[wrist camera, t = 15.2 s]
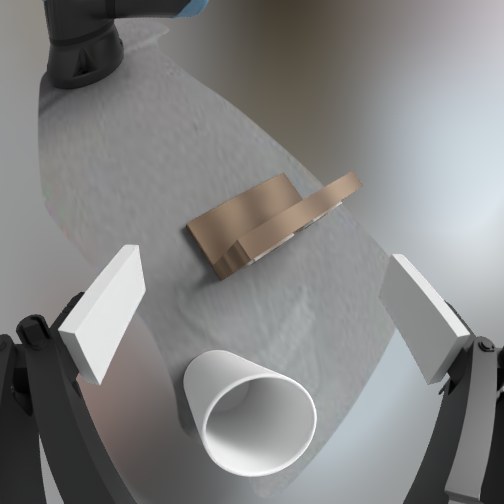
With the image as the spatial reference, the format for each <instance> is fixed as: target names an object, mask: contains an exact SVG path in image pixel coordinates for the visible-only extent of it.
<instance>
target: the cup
mask: <svg viewBox="0 0 504 504" xmlns="http://www.w3.org/2000/svg"><path fill="white" fill-rule="evenodd" d="M183 385H184V390H185V393H186V397H187V400H188V403H189V406H190V409H191V412H192V415H193V418H194V421H195V423H196V426H197V429H198V432H199V435H200V437H201V440H202V442H203V445H204V447H205V450H206V451H207V453H208V455H209V456H210V457H211V459H212V460H213V461H214V462H215V463H216V464H217V465H218V466H220V467H221V468H223V469H224V470H226V471H228V472H231V473H233V474H236V475H241V476H248V477H256V476H264V475H268V474H272V473H275V472H277V471H280V470H282V469H284V468H286V467H287V466H289V465H290V464H292V463H293V462H294V461H295V460H297V459H298V458H299V457H300V456H301V455H302V453H303V452H304V451H305V450H306V448H307V447H308V445H309V443H310V442H311V440H312V437H313V435H314V431H315V427H316V409H315V406H314V403H313V400H312V398H311V396H310V395H309V394H308V392H307V391H306V390H305V389H304V388H303V387H302V386H301V385H300V384H298V383H297V382H295V381H294V380H292V379H290V378H288V377H286V376H283V375H281V374H278V373H276V372H274V371H271V370H269V369H266V368H264V367H262V366H259V365H257V364H255V363H253V362H250V361H248V360H246V359H244V358H241V357H239V356H237V355H235V354H233V353H230V352H227V351H223V350H212V351H208V352H205V353H202V354H200V355H199V356H197V357H196V358H195V359H194V360H192V362H191V363H190V364H189V365H188V367H187V369H186V371H185V374H184V380H183Z"/></svg>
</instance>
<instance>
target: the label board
mask: <svg viewBox="0 0 504 504" xmlns="http://www.w3.org/2000/svg"><path fill="white" fill-rule="evenodd" d="M362 186H363V185H362V183H361V182H360V180H359V179H358V178H357V176H356V175H355V173H354V172H353V171H352V172H350V173H348V174H347V175H345V176H343V177H341V178H339V179H338V180H336V181H335V182H333V183H331V184H329V185H328V186H326V187H324V188H322V189H321V190H319V191H317V192H316V193H314V194H312V195H311V196H309V197H307V198H305V199H304V200H303V199H302V198H301V196H300V195H299V193H298V192H297V190H296V189H295V188H294V186H293V185H292V183H291V182H290V181H289V179H288V178H287V176H286V175H285V174H284V173H282V174H280V175H278V176H276V177H274V178H272V179H270V180H268V181H266V182H264V183H262V184H260V185H258V186H256V187H254V188H252V189H250V190H248V191H246V192H244V193H242V194H240V195H238V196H236V197H235V198H233V199H231V200H229V201H227V202H225V203H223V204H221V205H220V206H218V207H216V208H214V209H212V210H210V211H209V212H207V213H205V214H203V215H201V216H199V217H198V218H196V219H194V220H192V221H191V222H189V223H187V225H186V227H187V228H188V230H189V231H190V233H191V235H192V236H193V238H194V239H195V241H196V243H197V244H198V246H199V247H200V249H201V250H202V252H203V253H204V255H205V257H206V258H207V260H208V261H209V263H210V264H211V266H212V267H213V269H214V270H215V272H216V273H217V275H218V276H219V278H220V279H221V281H222V280H223V279H225V278H226V277H228V276H229V275H231V274H232V273H234V272H235V271H237V270H238V269H240V268H241V267H243V268H244V269H245V268H246V267H248V266H249V265H251V264H253V263H255V262H256V261H258V260H259V259H261V258H262V257H264V256H265V255H267V254H268V253H270V252H271V251H273V250H274V249H276V248H277V247H279V246H280V245H281V244H282V243H284V242H285V241H287V240H288V239H290V238H291V237H293V236H294V234H293V233H294V232H297V233H298V232H300V231H301V230H303V229H304V228H307V227H308V226H310V225H311V224H313V223H314V222H316V221H317V220H319V219H320V218H322V217H323V216H325V215H326V214H327V213H328V212H330V211H331V210H332V209H334V208H335V207H337V206H338V205H340V204H341V203H342V202H341V200H343V199H344V198H346V197H347V196H349V195H350V194H351V193H353V192H354V191H356V190H357V189H359V188H360V187H362Z"/></svg>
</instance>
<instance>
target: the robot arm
mask: <svg viewBox="0 0 504 504" xmlns="http://www.w3.org/2000/svg"><path fill="white" fill-rule="evenodd" d="M43 1H44V9H45V16H46V22H47V28H48V34H49V39H50V51H49V60H48V64H47V74H48V78H49V81H50V83H51V84H52V85H54V86H55V87H58V88H64V89H70V88H77V87H82V86H86V85H89V84H91V83H94V82H96V81H98V80H100V79H102V78H104V77H106V76H107V75H109V74H110V73H112V72H113V71H114V70H115V69H116V68H117V67H118V66H119V65H120V63H121V62H122V60H123V56H124V46H123V42H122V40H121V39H120V38H119V34H118V31H117V29H116V27H115V25H114V19H116V18H135V17H136V18H137V17H160V18H163V17H164V18H176V17H194V16H196V15H198V14H199V13H200V12H201V11H202V10H203V9H204V8H205V6H206V4H207V3H208V1H209V0H43ZM145 291H146V289H145V284H144V278H143V273H142V266H141V260H140V254H139V247H138V245H124V246H123V248H122V249H121V250H120V251H119V252H118V253H117V255H116V256H115V257H114V258H113V259H112V260H111V262H110V263H109V264H108V265H107V266H106V268H105V269H104V270H103V271H102V272H101V274H100V275H99V276H98V277H97V279H96V280H95V281H94V282H93V284H92V285H91V286H90V287H89V289H88V290H87V291H86V292H80V293H79V294H78V295H76V296H75V297H73V298H72V299H71V301H70V302H69V303H68V304H67V307H65V308H64V310H63V311H62V313H60V315H59V316H58V317H57V319H56V320H55V321H54V323H53V324H52V326H51V327H50V328H48V325H47V324H46V321H45V319H44V317H43V316H41V315H36V314H35V315H30V316H28V317H26V318H24V319H23V320H22V321H20V323H19V324H18V325H17V328H16V332H17V334H18V336H19V338H20V340H21V342H22V344H14V342H13V340H12V339H11V337H10V336H9V335H7V334H2V335H0V504H47V503H46V497H45V492H44V485H43V479H42V471H41V461H40V448H39V434H40V438H41V441H42V445H43V448H44V452H45V455H46V458H47V461H48V464H49V467H50V470H51V472H52V475H53V477H54V480H55V483H56V485H57V487H58V490H59V493H60V495H61V497H62V499H63V502H64V504H137V503H136V502H135V500H134V499H133V497H132V496H131V494H130V492H129V491H128V489H127V488H126V486H125V484H124V483H123V481H122V479H121V477H120V476H119V474H118V472H117V470H116V469H115V467H114V465H113V463H112V461H111V459H110V457H109V455H108V453H107V451H106V449H105V447H104V445H103V443H102V441H101V439H100V437H99V435H98V433H97V430H96V428H95V426H94V423H93V421H92V419H91V416H90V414H89V411H88V409H87V406H86V404H85V401H84V398H83V395H82V393H81V390H80V387H79V384H78V382H77V381H76V377H77V375H78V373H80V375H81V376H82V378H83V380H84V381H85V382H89V383H93V384H97V385H100V384H101V382H102V379H103V377H104V375H105V373H106V370H107V368H108V366H109V364H110V362H111V360H112V357H113V355H114V353H115V351H116V349H117V346H118V345H119V342H120V340H121V338H122V336H123V334H124V332H125V330H126V328H127V326H128V324H129V322H130V320H131V318H132V316H133V314H134V312H135V310H136V308H137V306H138V304H139V303H140V301H141V299H142V297H143V295H144V293H145ZM379 298H380V300H381V301H382V303H383V305H384V306H385V308H386V310H387V311H388V313H389V315H390V316H391V318H392V320H393V321H394V323H395V325H396V327H397V328H398V330H399V332H400V333H401V335H402V337H403V339H404V340H405V342H406V344H407V346H408V348H409V350H410V351H411V353H412V355H413V357H414V359H415V361H416V363H417V365H418V366H419V368H420V370H421V372H422V374H423V376H424V378H425V380H426V382H427V384H428V385H429V384H433V383H436V382H440V381H441V380H442V379H443V377H444V376H445V374H446V373H447V372H448V374H449V376H450V378H449V380H448V381H447V382H446V384H445V385H444V386H443V388H442V389H441V390H440V392H439V395H440V394H441V393H442V392H443V391H444V395H443V400H442V403H441V407H440V411H439V414H438V418H437V421H436V424H435V428H434V431H433V434H432V437H431V439H430V443H429V445H428V448H427V451H426V453H425V456H424V459H423V461H422V463H421V466H420V468H419V471H418V473H417V475H416V477H415V480H414V482H413V484H412V486H411V488H410V491H409V492H408V494H407V496H406V498H405V500H404V503H403V504H504V392H503V388H502V387H503V386H504V347H503V348H496V347H495V345H494V344H493V343H492V342H491V341H490V340H489V339H487V338H485V337H482V336H480V337H476V336H475V335H474V333H473V332H472V331H471V329H470V328H469V327H468V325H467V324H466V323H465V322H464V320H462V319H461V317H460V316H459V314H457V312H456V311H455V309H454V308H453V307H452V306H451V305H450V304H449V303H447V302H446V301H445V300H443V299H442V298H441V297H440V296H439V294H438V293H437V292H436V291H435V290H434V288H433V287H432V286H431V285H430V284H429V283H428V282H427V280H426V279H425V278H424V277H423V276H422V275H421V274H420V273H419V271H418V270H416V268H415V267H414V266H413V265H412V264H411V263H410V262H409V261H408V260H407V259H406V257H405V256H403V255H402V254H391V257H390V260H389V264H388V267H387V271H386V274H385V278H384V281H383V284H382V288H381V291H380V294H379ZM11 386H12V388H11ZM480 489H481V493H480ZM479 493H480V501H479V499H478V497H479Z"/></svg>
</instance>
